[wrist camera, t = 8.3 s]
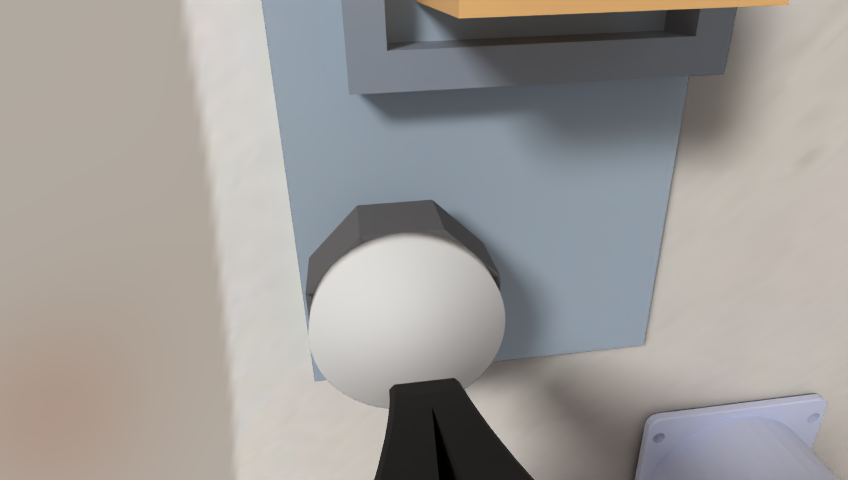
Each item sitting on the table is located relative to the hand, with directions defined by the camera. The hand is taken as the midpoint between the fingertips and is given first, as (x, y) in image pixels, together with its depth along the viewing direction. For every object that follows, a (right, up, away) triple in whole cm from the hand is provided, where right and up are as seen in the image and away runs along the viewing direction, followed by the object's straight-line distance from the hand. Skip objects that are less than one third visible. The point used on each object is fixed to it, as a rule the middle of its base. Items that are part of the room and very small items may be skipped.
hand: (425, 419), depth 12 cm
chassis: (+2, +8, +6) cm, 10 cm away
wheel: (-1, +2, +5) cm, 6 cm away
